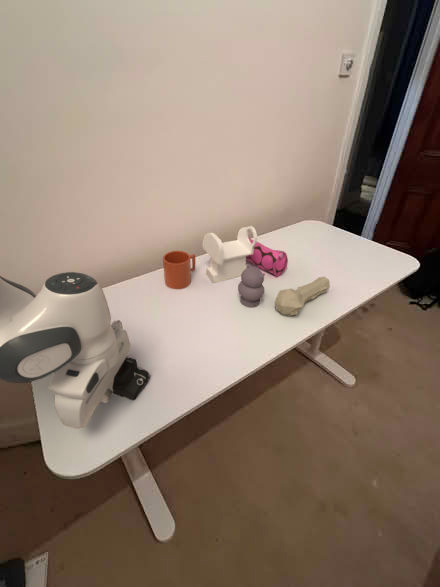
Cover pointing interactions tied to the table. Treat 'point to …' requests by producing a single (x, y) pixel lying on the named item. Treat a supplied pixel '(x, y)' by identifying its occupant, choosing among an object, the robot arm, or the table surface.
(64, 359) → the robot arm
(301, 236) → the table surface
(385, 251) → the table surface
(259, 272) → the cat figurine
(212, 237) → the tape dispenser
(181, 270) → the mug
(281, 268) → the pencil case
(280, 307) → the faceted club
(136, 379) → the film camera
